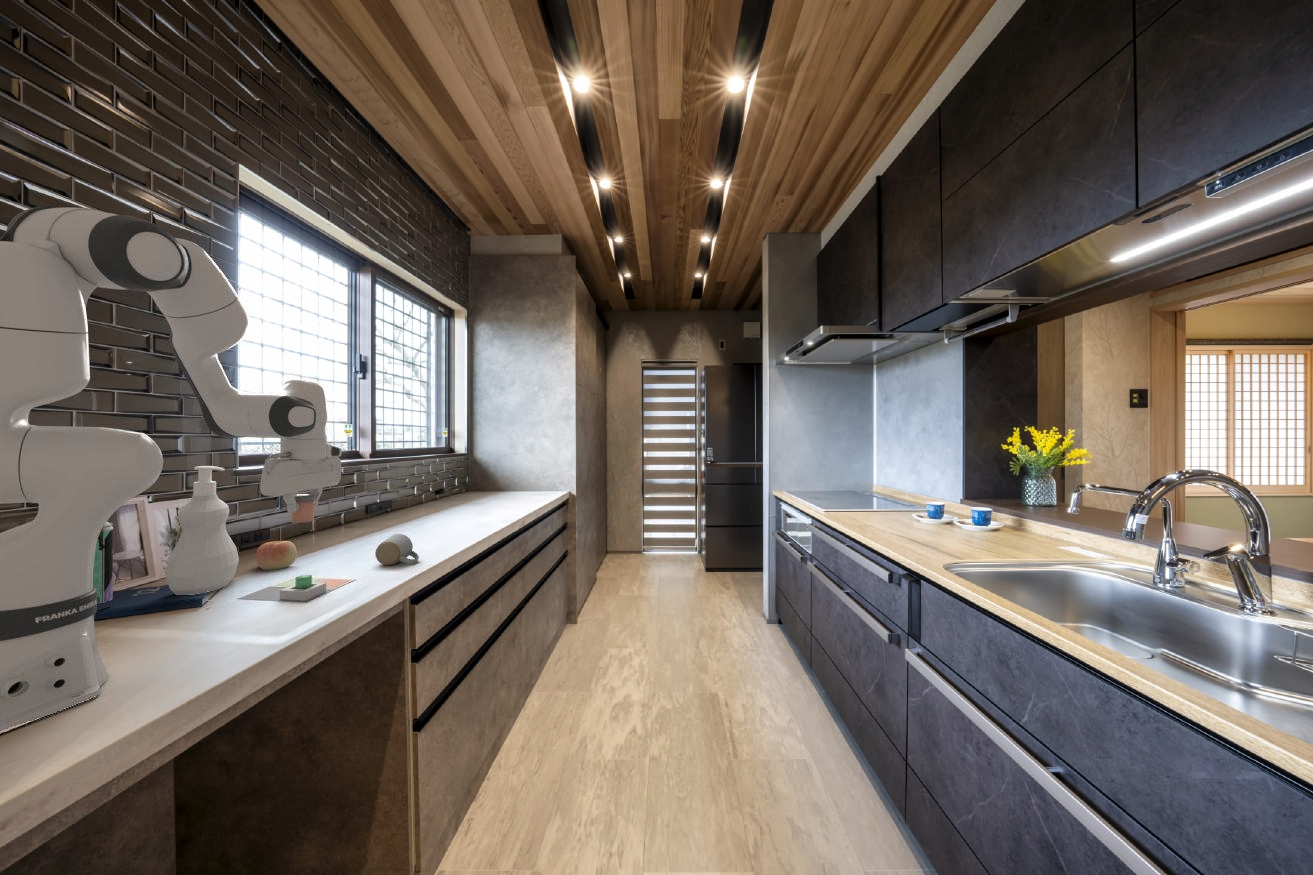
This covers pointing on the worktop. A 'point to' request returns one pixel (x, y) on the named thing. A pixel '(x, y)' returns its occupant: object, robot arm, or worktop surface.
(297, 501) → the orange jar
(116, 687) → the worktop surface
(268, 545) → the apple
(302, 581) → the button
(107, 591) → the spray can
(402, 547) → the ceramic mug
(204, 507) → the soap bottle
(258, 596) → the colouring board
